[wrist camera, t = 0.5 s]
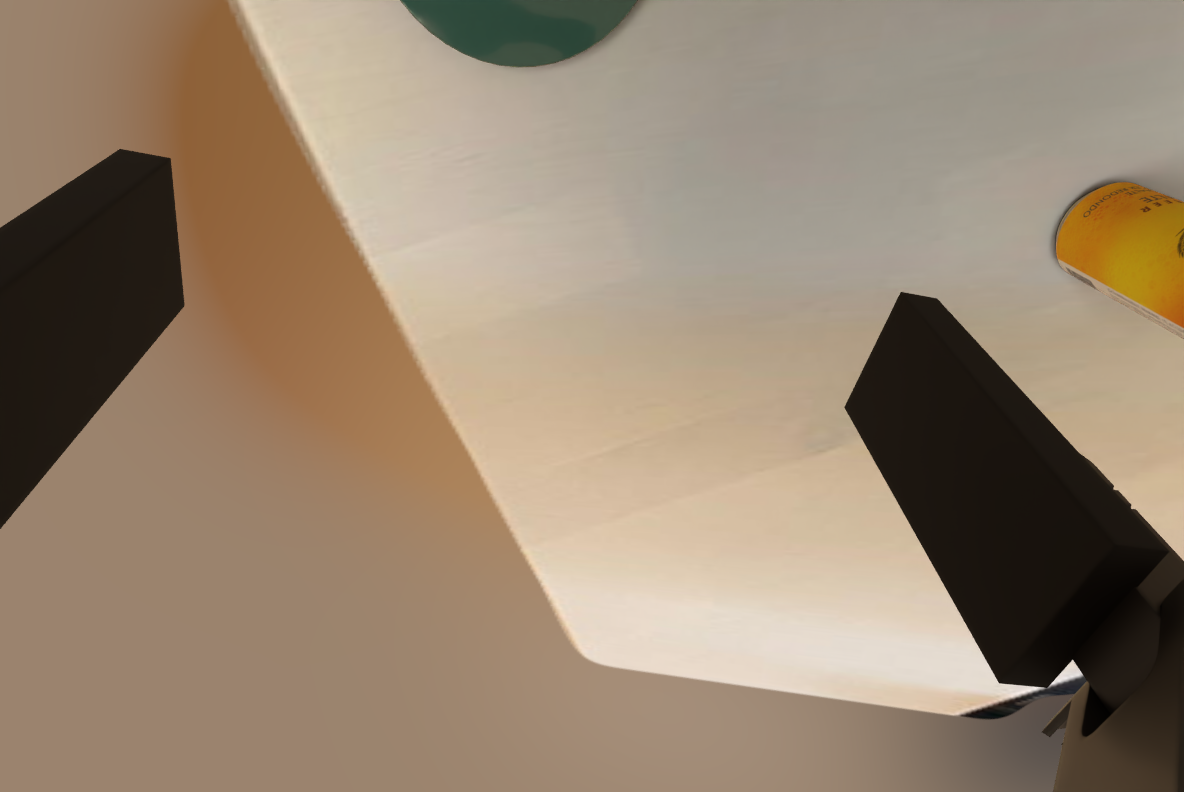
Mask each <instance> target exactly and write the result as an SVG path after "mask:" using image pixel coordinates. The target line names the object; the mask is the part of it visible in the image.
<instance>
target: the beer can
mask: <svg viewBox="0 0 1184 792" xmlns="http://www.w3.org/2000/svg"><path fill="white" fill-rule="evenodd" d="M1056 254H1057V259H1058V262H1059V264H1060V265H1061V267H1062V268H1063V269H1064V270H1065V271H1066V272H1067V273H1069V274H1070V275H1072V276H1074V277H1076V278H1077V279H1079V280H1081V281H1083V282H1084V283H1086V284H1088V285H1090V286H1091V287H1093V288H1095V289H1097V290H1098V291H1100V292H1102V293H1104V294H1106V295H1107V296H1109V297H1111V298H1113V299H1114V300H1116V301H1118V302H1120V303H1121V304H1123V305H1125V306H1127V307H1128V308H1130V309H1132V310H1134V311H1135V312H1137V313H1139V314H1141V315H1142V316H1144V317H1146V318H1148V319H1150V320H1151V321H1153V322H1155V323H1157V324H1158V325H1160V326H1162V327H1164V328H1165V329H1167V330H1169V331H1171V332H1172V333H1174V334H1176V335H1178V336H1179V337H1181V338H1183V339H1184V202H1182V201H1180V200H1177V199H1174V198H1172V197H1169V196H1166V195H1164V194H1161V193H1158V192H1156V191H1153V190H1150V189H1148V188H1145V187H1142V186H1140V185H1137V184H1134V183H1129V182H1118V183H1113V184H1109V185H1106V186H1103V187H1101V188H1099V189H1097V190H1095V191H1093V192H1090V193H1089V194H1087V195H1085V196H1084V197H1082V198H1081V199H1079V200H1078V201H1077V202H1076V203H1075V204H1074V205H1073V206H1072V207H1071V208H1070V209H1069V210H1068V212H1067V213H1066V214H1065V216H1064V217H1063V219H1062V221H1061V223H1060V225H1059V228H1058V231H1057V236H1056Z"/></svg>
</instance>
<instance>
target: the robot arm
mask: <svg viewBox="0 0 1184 792" xmlns="http://www.w3.org/2000/svg"><path fill="white" fill-rule="evenodd" d="M183 307H184V295H183V285H182V275H181V264H180V253H179V243H178V232H177V222H176V211H175V200H174V190H173V179H172V168H171V159H170V158H166V157H161V156H155V155H150V154H145V153H139V152H134V151H128V150H123V149H119V150H118V151H116V152H115V153H113V154H112V155H110V156H109V157H107V158H106V159H104V160H103V161H101V162H100V163H98V164H97V165H95V166H94V167H92V168H90V169H89V170H87V171H86V172H84V173H83V174H81V175H80V176H78V177H77V178H75V179H74V180H72V181H71V182H69V183H68V184H66V185H65V186H63V187H62V188H60V189H59V190H57V191H56V192H54V193H52V194H51V195H49V196H48V197H46V198H45V199H43V200H42V201H40V202H39V203H37V204H36V205H34V206H33V207H31V208H30V209H28V210H27V211H25V212H24V213H22V214H20V215H19V216H17V217H16V218H14V219H13V220H11V221H10V222H8V223H7V224H5V225H4V226H2V227H1V228H0V529H1V527H2V526H3V525H4V524H5V523H6V521H7V520H8V519H9V518H10V517H11V515H12V514H13V513H14V512H15V510H16V509H17V508H18V507H19V506H20V504H21V503H22V502H23V501H24V500H25V498H26V497H27V496H28V495H29V494H30V492H31V491H32V490H33V489H34V488H35V486H36V485H37V484H38V483H39V481H40V480H41V479H42V478H43V477H44V475H45V474H46V473H47V472H48V471H49V469H50V468H51V467H52V466H53V464H54V463H55V462H56V461H57V460H58V458H59V457H60V456H61V455H62V453H63V452H64V451H65V450H66V449H67V447H68V446H69V445H70V444H71V443H72V441H73V440H74V439H75V438H76V437H77V435H78V434H79V433H80V432H81V431H82V429H83V428H84V427H85V426H86V425H87V423H88V422H89V421H90V419H91V418H92V417H93V416H94V414H96V412H97V411H98V410H99V409H100V407H101V406H102V405H103V404H104V403H105V401H106V400H107V399H108V398H109V397H110V395H111V394H112V393H113V392H114V391H115V389H116V388H117V387H118V386H119V385H120V383H121V382H122V381H123V380H124V378H125V377H126V376H127V375H128V374H129V372H130V371H131V370H132V369H133V368H134V366H135V365H136V364H137V363H138V361H139V360H140V359H141V358H142V357H143V355H144V354H145V353H146V352H147V351H148V349H149V348H150V347H151V346H152V344H153V343H154V342H155V341H156V340H157V338H158V337H159V336H160V335H161V334H162V332H163V331H164V330H165V329H166V328H167V326H168V325H169V324H170V323H171V322H172V320H173V319H174V318H175V317H176V315H177V314H178V313H179V312H180V310H181V309H182V308H183ZM844 408H845V409H846V411H847V413H848V415H849V416H850V418H851V420H852V422H853V424H854V425H855V427H856V429H857V431H858V432H859V434H860V436H861V438H862V440H863V441H864V443H865V445H866V447H867V449H868V450H869V452H870V454H871V456H872V457H873V459H874V461H875V463H876V465H877V466H878V468H879V470H880V472H881V474H882V475H883V477H884V479H885V481H886V482H887V484H888V486H889V488H890V490H891V491H892V493H893V495H894V497H895V498H896V500H897V502H898V504H899V506H900V507H901V509H902V511H903V513H904V515H905V516H906V518H907V520H908V522H909V523H910V525H911V527H912V529H913V531H914V532H915V534H916V536H917V538H918V539H919V541H920V543H921V545H922V547H923V548H924V550H925V552H926V554H927V556H928V557H929V559H930V561H931V563H932V564H933V566H934V568H935V570H936V572H937V573H938V575H939V577H940V579H941V581H942V582H943V584H944V586H945V588H946V589H947V591H948V593H949V595H950V597H951V598H952V600H953V602H954V604H955V605H956V607H957V609H958V611H959V613H960V614H961V616H962V618H963V620H964V622H965V623H966V625H967V627H968V629H969V630H970V632H971V634H972V636H973V638H974V639H975V641H976V643H977V645H978V646H979V648H980V650H981V652H982V654H983V655H984V657H985V659H986V661H987V663H988V664H989V666H990V668H991V670H992V671H993V673H994V675H995V677H996V679H997V680H998V682H999V683H1002V684H1013V685H1023V686H1034V687H1045V688H1047V687H1048V686H1049V685H1050V684H1051V683H1052V682H1053V681H1054V680H1055V679H1056V677H1057V676H1058V675H1059V674H1060V673H1061V672H1062V671H1063V670H1064V669H1065V667H1066V666H1067V665H1068V664H1069V663H1070V662H1071V661H1072V660H1074V662H1075V663H1076V665H1077V666H1078V668H1079V669H1080V671H1081V672H1082V674H1083V675H1084V677H1085V678H1086V680H1087V682H1086V683H1085V684H1084V685H1083V686H1082V687H1081V688H1080V689H1079V690H1078V691H1077V693H1076V694H1075V695H1074V696H1073V697H1072V698H1071V699H1070V700H1069V701H1068V702H1067V703H1066V704H1065V705H1064V706H1063V707H1062V709H1061V710H1060V711H1059V712H1058V713H1057V714H1056V715H1055V716H1054V717H1053V718H1052V719H1051V720H1050V721H1049V722H1048V724H1047V725H1046V726H1045V728H1044V730H1043V731H1042V732H1043V733H1044V734H1046V735H1047V736H1049V737H1050V736H1051V735H1052V734H1053V733H1054V732H1055V731H1056V730H1057V729H1062V728H1066V731H1065V735H1064V740H1063V743H1062V750H1061V755H1060V760H1059V765H1058V770H1057V775H1056V780H1055V784H1054V790H1053V792H1184V561H1183V560H1182V559H1181V558H1180V557H1179V556H1178V554H1177V553H1176V552H1175V551H1174V550H1173V549H1172V548H1171V547H1170V546H1169V545H1168V544H1167V543H1166V542H1165V540H1164V539H1163V538H1162V537H1161V536H1160V535H1159V534H1158V533H1157V532H1156V531H1155V530H1154V529H1153V528H1152V526H1151V525H1150V524H1149V523H1148V522H1147V521H1146V520H1145V519H1144V518H1143V517H1142V516H1141V515H1140V514H1139V512H1138V511H1137V510H1135V509H1131V504H1130V503H1129V502H1128V501H1127V499H1126V498H1125V497H1124V496H1123V495H1122V494H1121V493H1120V492H1119V491H1118V490H1113V487H1114V485H1113V484H1112V483H1111V482H1110V481H1109V480H1108V479H1107V478H1106V477H1105V476H1104V475H1103V474H1102V473H1101V471H1100V470H1099V469H1098V468H1097V467H1096V466H1095V465H1094V464H1093V463H1092V462H1091V461H1089V460H1088V459H1087V458H1085V457H1084V456H1082V455H1081V454H1080V453H1079V452H1078V451H1077V450H1076V449H1075V448H1074V447H1073V446H1072V445H1071V444H1070V443H1069V442H1068V440H1067V439H1066V438H1065V437H1064V436H1063V435H1062V434H1061V433H1060V432H1059V431H1058V430H1057V429H1056V427H1055V426H1054V425H1053V424H1052V423H1051V422H1050V421H1049V420H1048V419H1047V418H1046V417H1045V415H1044V414H1043V413H1042V412H1041V411H1040V410H1039V409H1038V408H1037V407H1036V406H1035V405H1034V404H1033V402H1032V401H1031V400H1030V399H1029V398H1028V397H1027V396H1026V395H1025V394H1024V393H1023V392H1022V390H1021V389H1020V388H1019V387H1018V386H1017V385H1016V384H1015V383H1014V382H1013V381H1012V380H1011V379H1010V377H1009V376H1008V375H1007V374H1006V373H1005V372H1004V371H1003V370H1002V369H1001V368H1000V367H999V365H998V364H997V363H996V362H995V361H994V360H993V359H992V358H991V357H990V356H989V355H988V353H987V352H986V351H985V350H984V349H983V348H982V347H981V346H980V345H979V344H978V343H977V342H976V340H975V339H974V338H973V337H972V336H971V335H970V334H969V333H968V332H967V331H966V330H965V328H964V327H963V326H962V325H961V324H960V323H959V322H958V321H957V320H956V319H955V318H954V317H953V315H952V314H951V313H950V312H949V311H948V310H947V309H946V308H945V307H944V306H943V305H942V303H941V302H940V301H939V300H938V299H937V298H931V297H926V296H920V295H915V294H909V293H904V292H901V293H900V295H899V297H898V299H897V301H896V303H895V305H894V307H893V309H892V311H891V313H890V315H889V317H888V319H887V321H886V323H885V326H884V328H883V330H882V332H881V334H880V336H879V338H878V340H877V342H876V344H875V346H874V348H873V350H872V352H871V354H870V356H869V358H868V360H867V362H866V364H865V366H864V368H863V370H862V373H861V375H860V377H859V379H858V381H857V383H856V385H855V387H854V389H853V391H852V393H851V395H850V397H849V399H848V401H847V403H846V405H845V407H844Z"/></svg>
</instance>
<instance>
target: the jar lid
mask: <svg viewBox="0 0 1184 792" xmlns="http://www.w3.org/2000/svg"><path fill="white" fill-rule="evenodd" d="M400 1H401V2H402V3H403V4H404V6H405V7H406V8H407V9H408V10H409V11H410V13H411V14H412V15H413V16H414V17H415V18H416V19H417V20H418V21H419V22H420V23H421V24H422V25H423V26H424V27H425V28H426V29H427V30H428V31H429V32H430V33H432V34H433V35H435V36H436V37H437V38H439V39H440V40H441V41H443V42H444V43H445V44H447V45H449V46H450V47H452V48H454V49H456V50H458V51H459V52H461V53H463V54H465V55H468V56H470V57H473V58H475V59H478V60H480V61H484V62H488V63H492V64H496V65H501V66H510V67H536V66H542V65H548V64H553V63H556V62H559V61H562V60H565V59H569V58H571V57H573V56H575V55H577V54H579V53H581V52H583V51H585V50H587V49H589V48H590V47H592V46H593V45H595V44H596V43H598V42H599V41H601V40H602V39H603V38H604V37H606V36H607V35H608V34H609V33H610V32H611V31H612V30H613V29H615V28H616V27H617V26H618V25H619V23H620V22H621V21H622V20H623V19H624V18H625V17H626V15H627V14H628V13H629V12H630V10H631V9H632V7H633V6H634V5H635V3H636V2H637V0H400Z"/></svg>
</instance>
